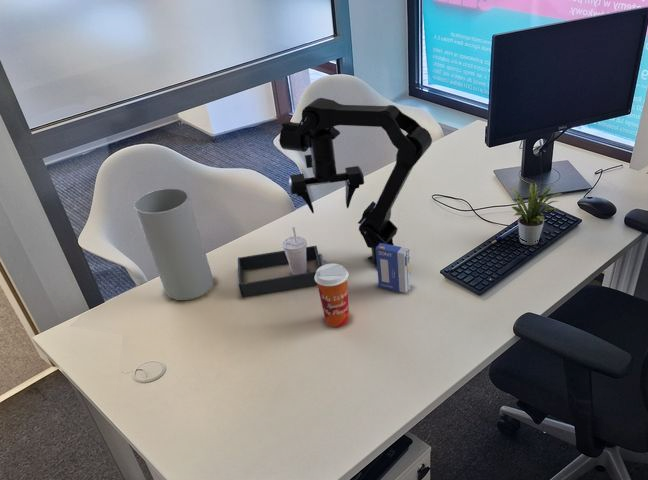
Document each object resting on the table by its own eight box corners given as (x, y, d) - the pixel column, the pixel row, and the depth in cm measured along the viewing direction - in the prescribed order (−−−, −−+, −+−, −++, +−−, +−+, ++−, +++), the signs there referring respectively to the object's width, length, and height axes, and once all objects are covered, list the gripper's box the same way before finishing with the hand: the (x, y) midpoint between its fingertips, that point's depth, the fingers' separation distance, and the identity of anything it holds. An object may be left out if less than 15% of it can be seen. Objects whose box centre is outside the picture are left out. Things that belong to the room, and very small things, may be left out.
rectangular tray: (322, 257, 170) (320, 244, 167) (328, 283, 160) (326, 271, 157) (240, 270, 167) (237, 257, 164) (242, 298, 157) (238, 285, 154)
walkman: (378, 287, 158) (375, 247, 150) (383, 281, 160) (380, 241, 152) (406, 293, 155) (404, 253, 147) (411, 287, 157) (409, 247, 149)
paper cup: (324, 333, 145) (316, 283, 135) (319, 314, 150) (311, 265, 141) (357, 326, 146) (351, 277, 137) (350, 307, 152) (344, 259, 142)
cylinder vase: (222, 277, 164) (198, 190, 148) (199, 304, 155) (170, 215, 139) (181, 271, 167) (153, 186, 151) (156, 298, 158) (123, 210, 142)
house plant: (569, 248, 168) (577, 193, 157) (524, 260, 164) (530, 204, 153) (541, 224, 178) (547, 171, 167) (498, 235, 174) (502, 181, 164)
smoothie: (310, 280, 161) (302, 234, 152) (285, 281, 162) (276, 234, 152) (313, 267, 166) (305, 221, 157) (289, 267, 166) (280, 221, 157)
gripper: (354, 136, 160) (359, 191, 170) (282, 145, 157) (292, 201, 168) (361, 153, 152) (366, 210, 162) (286, 163, 149) (296, 220, 159)
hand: (330, 210), depth 163 cm, fingers open, 9 cm apart
